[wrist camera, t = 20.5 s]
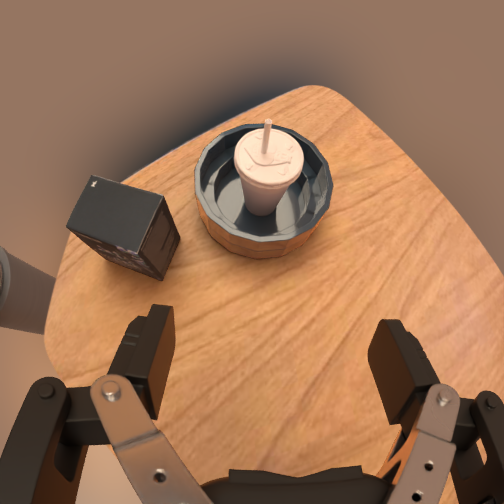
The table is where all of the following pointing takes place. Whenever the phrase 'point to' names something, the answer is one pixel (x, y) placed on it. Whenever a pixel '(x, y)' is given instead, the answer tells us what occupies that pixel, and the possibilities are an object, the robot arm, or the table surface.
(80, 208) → the box
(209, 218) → the bowl
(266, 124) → the smoothie
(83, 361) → the table surface
